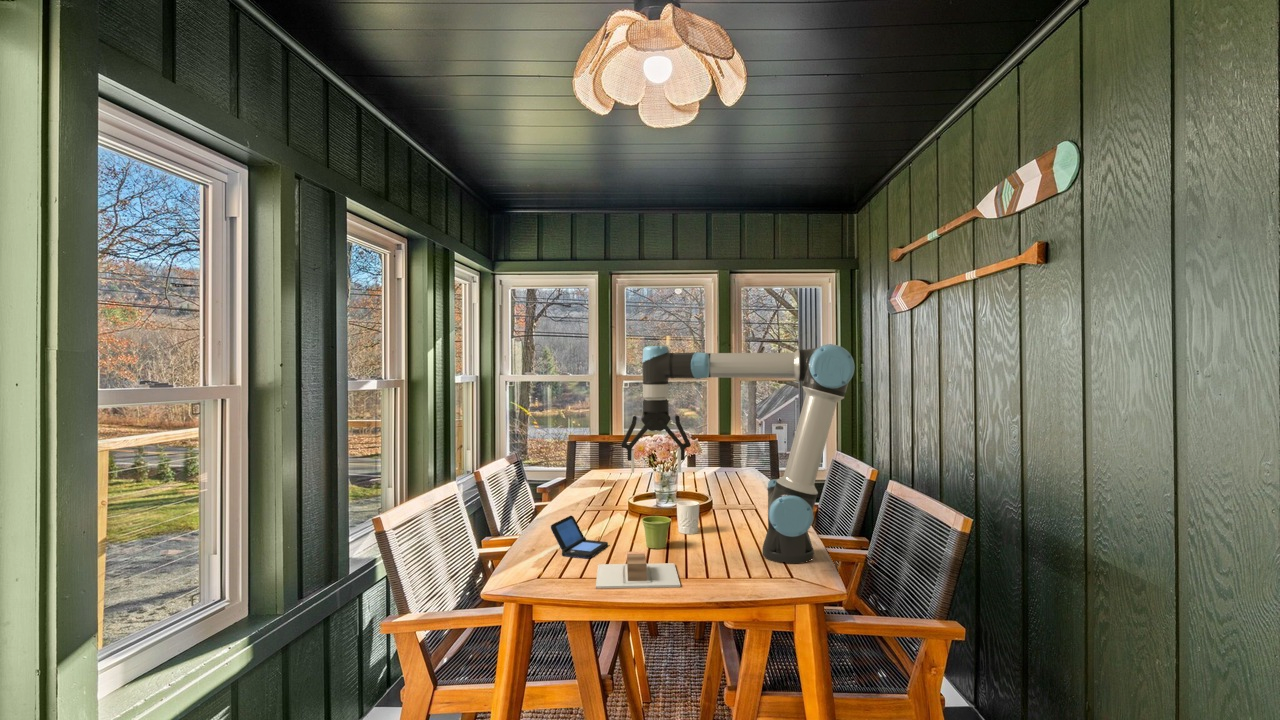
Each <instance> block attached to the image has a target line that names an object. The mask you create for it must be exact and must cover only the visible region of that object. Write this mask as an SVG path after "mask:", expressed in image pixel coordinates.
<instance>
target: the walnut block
mask: <svg viewBox="0 0 1280 720" xmlns="http://www.w3.org/2000/svg"><path fill="white" fill-rule="evenodd" d="M626 562H627V563H626V564H627V574H628V581H647V564H648V563H647V557H646V552H645V551H626Z"/></svg>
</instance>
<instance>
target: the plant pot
mask: <svg viewBox="0 0 1280 720" xmlns="http://www.w3.org/2000/svg"><path fill="white" fill-rule="evenodd" d="M641 522H642V524H643V528H644V535H645V542H646V547H647V548H649V549H656V550H660V549H664V548H666V546H667V540H668V532H669V527H670V523H671V522H672V518H670V517H667V516H663V515H662V516H660V515H649V516H644V517H642V518H641Z"/></svg>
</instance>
